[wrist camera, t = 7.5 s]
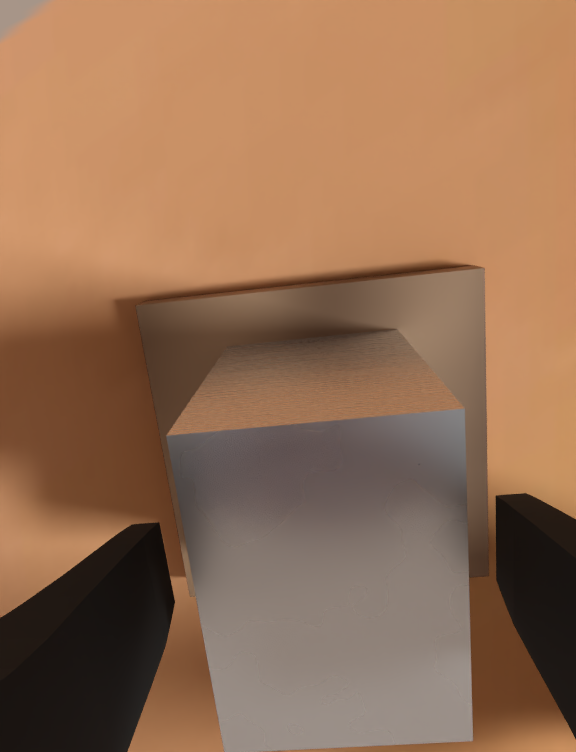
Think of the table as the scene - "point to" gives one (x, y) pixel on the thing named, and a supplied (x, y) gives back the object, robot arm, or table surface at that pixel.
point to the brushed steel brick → (329, 543)
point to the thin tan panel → (328, 318)
